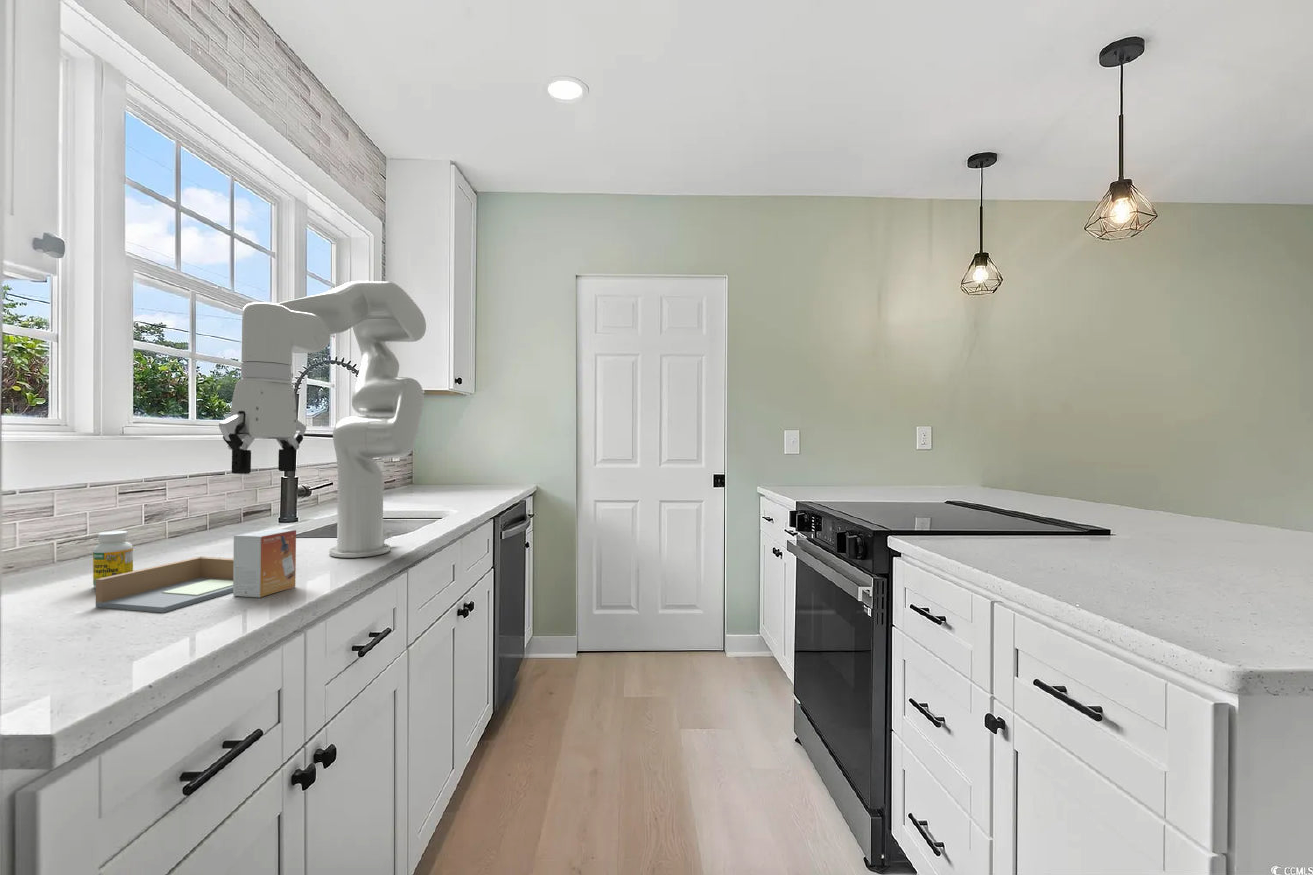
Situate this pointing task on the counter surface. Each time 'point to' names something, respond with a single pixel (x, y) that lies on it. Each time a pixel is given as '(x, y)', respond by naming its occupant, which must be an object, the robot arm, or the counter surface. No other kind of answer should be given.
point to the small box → (264, 562)
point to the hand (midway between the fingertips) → (265, 472)
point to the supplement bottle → (112, 555)
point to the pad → (201, 587)
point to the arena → (162, 585)
